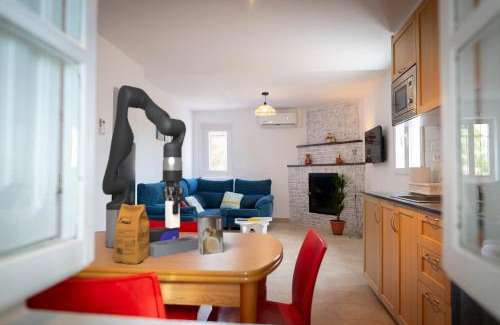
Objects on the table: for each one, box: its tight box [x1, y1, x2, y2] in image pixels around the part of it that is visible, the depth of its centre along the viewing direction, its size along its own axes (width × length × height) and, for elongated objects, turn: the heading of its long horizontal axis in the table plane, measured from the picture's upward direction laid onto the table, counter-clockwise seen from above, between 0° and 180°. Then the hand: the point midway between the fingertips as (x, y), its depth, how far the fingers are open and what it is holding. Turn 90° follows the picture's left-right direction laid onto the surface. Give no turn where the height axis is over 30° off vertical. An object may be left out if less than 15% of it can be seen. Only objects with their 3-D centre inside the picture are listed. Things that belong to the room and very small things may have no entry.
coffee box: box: [197, 214, 224, 256], centre depth 127 cm, size 9×6×16 cm
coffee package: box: [113, 204, 150, 265], centre depth 119 cm, size 10×12×22 cm
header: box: [149, 236, 198, 259], centre depth 129 cm, size 9×21×5 cm, turn 132°
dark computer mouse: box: [149, 226, 180, 243], centre depth 137 cm, size 16×5×9 cm, turn 123°
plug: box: [164, 201, 181, 228], centre depth 118 cm, size 4×4×10 cm
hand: (172, 213), depth 118 cm, fingers closed on plug, 4 cm apart
